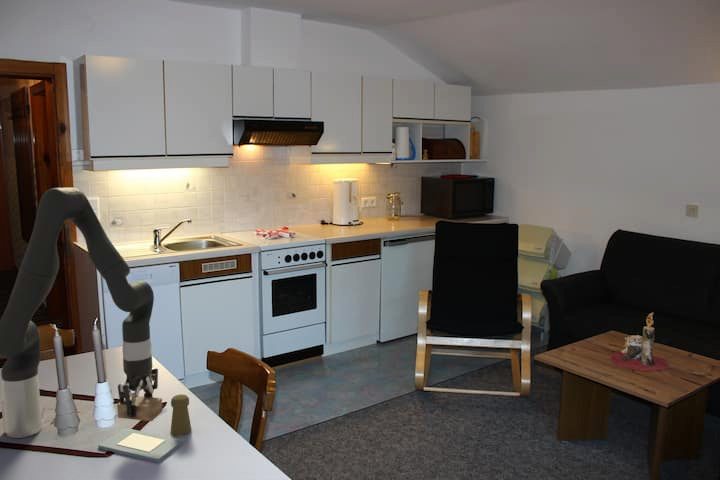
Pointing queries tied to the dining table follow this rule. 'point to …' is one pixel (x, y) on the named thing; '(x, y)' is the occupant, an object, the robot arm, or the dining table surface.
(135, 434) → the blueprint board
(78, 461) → the dining table surface
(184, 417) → the olive pawn
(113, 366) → the dining table surface
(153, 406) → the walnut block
